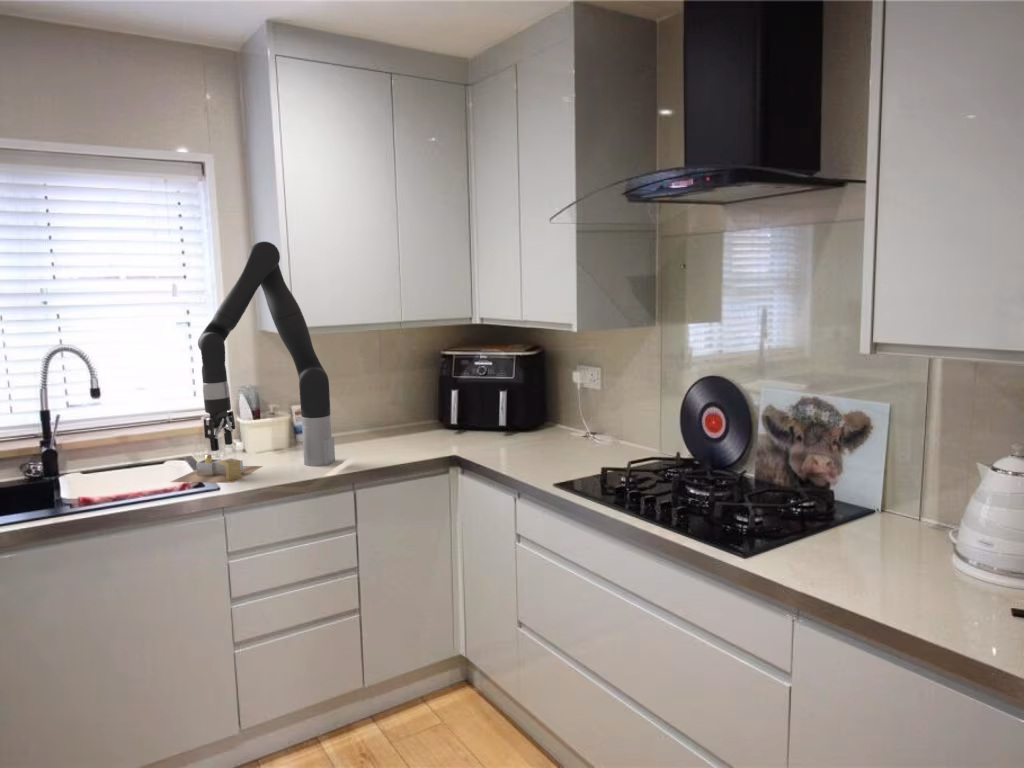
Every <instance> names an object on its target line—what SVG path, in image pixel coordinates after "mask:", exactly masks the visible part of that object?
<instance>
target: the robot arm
mask: <svg viewBox="0 0 1024 768" xmlns="http://www.w3.org/2000/svg"><path fill="white" fill-rule="evenodd" d="M247 253H248V254H247V261H246V263H245V266H244V268H243V270H242V273H241V274H240V276H239V277H238V279H237V280H236V282H235V284H234V285H233V286H232V287H231V289H230V290H229V291H228V293H227V294H226V296H225V297H224V299H223V300H222V302H221V303H220V305H219V307H218V309H216V312H215V313H214V316H213V318H212V320H211V321H209V323H208V324H207V325H206V327H205V328H204V330H203V331H202V332H201V334H200V336H199V338H198V339H197V346H198V349H199V350H200V353H201V363H202V366H201V376H202V394H203V404H204V412H205V413H207V414H209V418H203V429H204V438H205V439H208V440H209V444H210V450H211V452H217V451H219V450H220V447H219V445H220V444H219V434H220V433H221V432H224V433H223V437H224V444H225V445H226V446H227V445H232V444H233V443H234V442H233V435H232V433H233V432H234V430H235V429H236V423H235V414H234V411H233V410H232V406H231V405H232V403H231V397H230V387H229V383H228V377H227V375H228V374H227V368H226V345H225V344H226V343H225V341H226V340H227V338H228V336H229V334H230V333H231V332H232V331H233V330H234V329H235V328H236V327H237V325H238V323H239V322H240V321H241V319H242V317H243V315H244V313H245V312H246V309H247V308H248V306H249V304H250V303H251V301H252V300H253V297H254V295H255V294H256V293H257V290H258V288H259V287H260V286H261V289H262V291H263V295H264V298H265V300H266V304H267V308H268V310H269V313H270V315H271V318H272V321H273V323H274V326H275V328H276V331H277V333H278V336H279V337H280V339H281V341H282V342H283V344H284V346H285V347H286V349H287V351H288V352H289V354H290V356H291V358H292V360H293V363H294V366H295V369H296V372H297V377H298V379H299V381H298V382H299V383H298V388H299V400H300V401H299V402H300V404H299V405H300V413H301V415H300V416H301V431H302V432H301V433H302V447H303V450H302V451H303V463H304V466H306V467H324V466H330V465H331V464H333V463H335V462H336V452H335V450H336V449H335V437H334V436H333V435H332V424H331V423H332V421H331V420H332V418H331V400H330V398H331V395H330V382H329V377H328V374H327V372H326V371H325V368H323V366H322V364H321V362H320V360H319V358H318V356H317V354H316V351H315V349H314V345H313V343H312V338H311V335H310V334H311V333H310V331H309V328H308V324H307V322H306V319H305V317H304V315H303V313H302V310H301V307H300V305H299V303H298V302H297V300H296V298H295V296H294V295H293V293H292V292H291V291H290V288H288V286H287V284H286V282H285V280H284V277H283V274H282V273H283V272H282V270H281V268H280V265H279V264H280V260H281V254H280V251H279V249H278V247H277V246H276V245H275V244H273V243H271V242H269V241H259V242H256V243H255V244H253V245H252V246H251V247H250V249H249V250H248V252H247Z"/></svg>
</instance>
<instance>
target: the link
mask: <svg viewBox="0 0 1024 768" xmlns="http://www.w3.org/2000/svg"><path fill="white" fill-rule="evenodd" d="M239 460H240V470H241V474H242V473H243V466H244V461H243V459H242V460H241V459H239ZM219 461H222V459H218V458H217V459H215V458H212V463H205V459H203V460H200V461H198V462H196V463H195V464H196V470H197V476H213V475H226V469H225V465H221V464H219Z"/></svg>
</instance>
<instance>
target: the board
mask: <svg viewBox="0 0 1024 768" xmlns="http://www.w3.org/2000/svg"><path fill="white" fill-rule="evenodd" d="M263 467H264V465H243V473H242V474H241V478H239V479H235V480H231V481H228V480H226V475H213V476H197V469H195V470H193V471H190V472H188V473H186V474H184V475H182V476H180V477H178V478H176V479H173V480H171V481H170V482H171V483H209V484H210V483H211V484H213V483H217V484H218V483H222V484H226V483H227V484H228V483H230V484H231V483H232V484H233V483H235V482H237V481H239V480H240V479H243V478H244V477H246V476H248V475H250V474H252V473H253V472H255V471H257V470H259V469H261V468H263Z"/></svg>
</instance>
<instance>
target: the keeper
mask: <svg viewBox="0 0 1024 768" xmlns="http://www.w3.org/2000/svg"><path fill="white" fill-rule="evenodd" d="M221 460H222V459H221ZM240 460H241V459H237V458H236V459H235V458H227V459H223V460H222V461H219V464H221V465H225V469H226V480H228V481H231V480H235V479H239V478H240V479H242V478H241V470H240ZM240 479H239V480H240Z"/></svg>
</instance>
